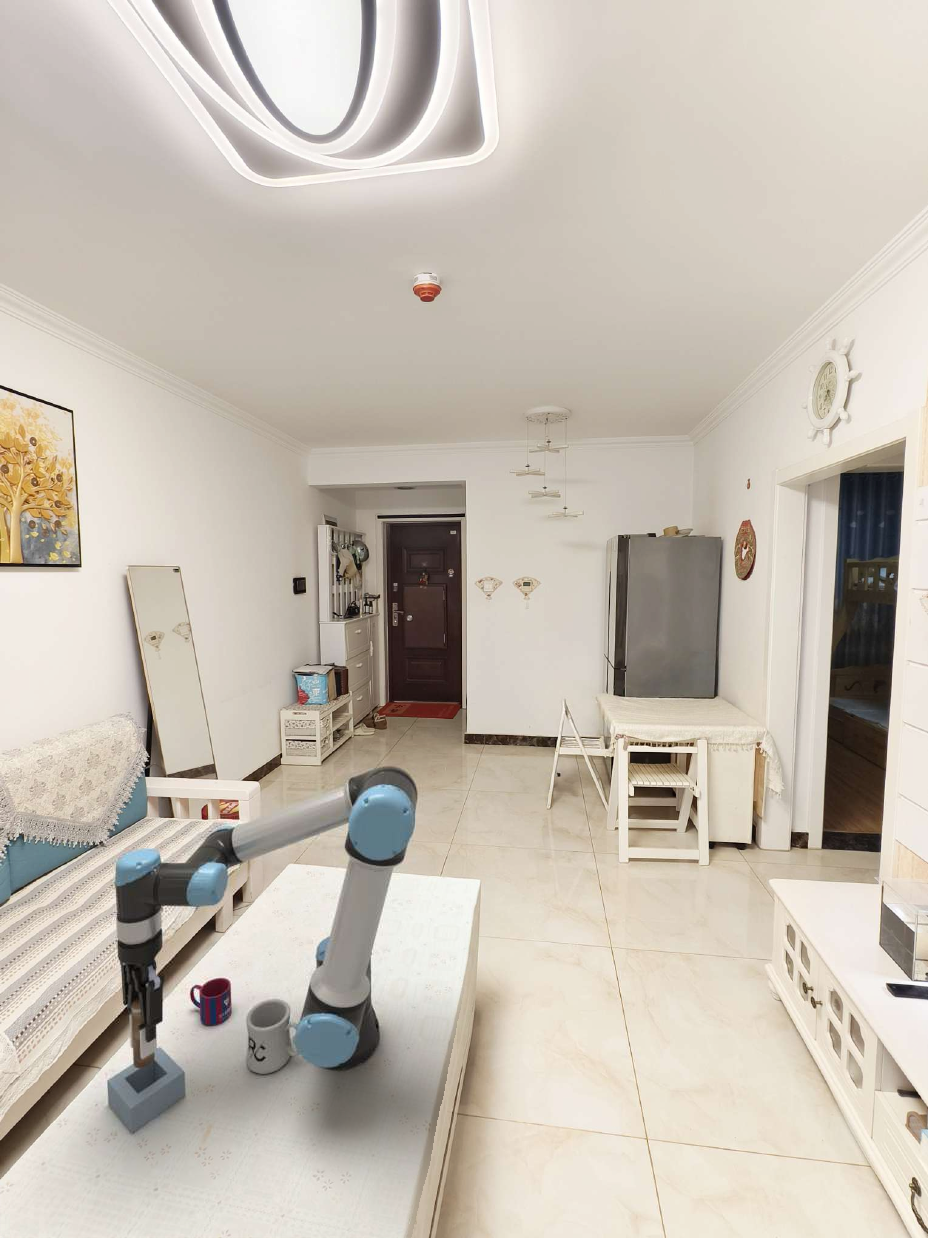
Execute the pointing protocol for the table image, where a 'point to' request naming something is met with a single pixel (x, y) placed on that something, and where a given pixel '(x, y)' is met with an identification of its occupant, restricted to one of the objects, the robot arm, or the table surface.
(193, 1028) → the table surface
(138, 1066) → the dowel
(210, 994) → the cup
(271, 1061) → the mug
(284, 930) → the table surface
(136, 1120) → the socket block
